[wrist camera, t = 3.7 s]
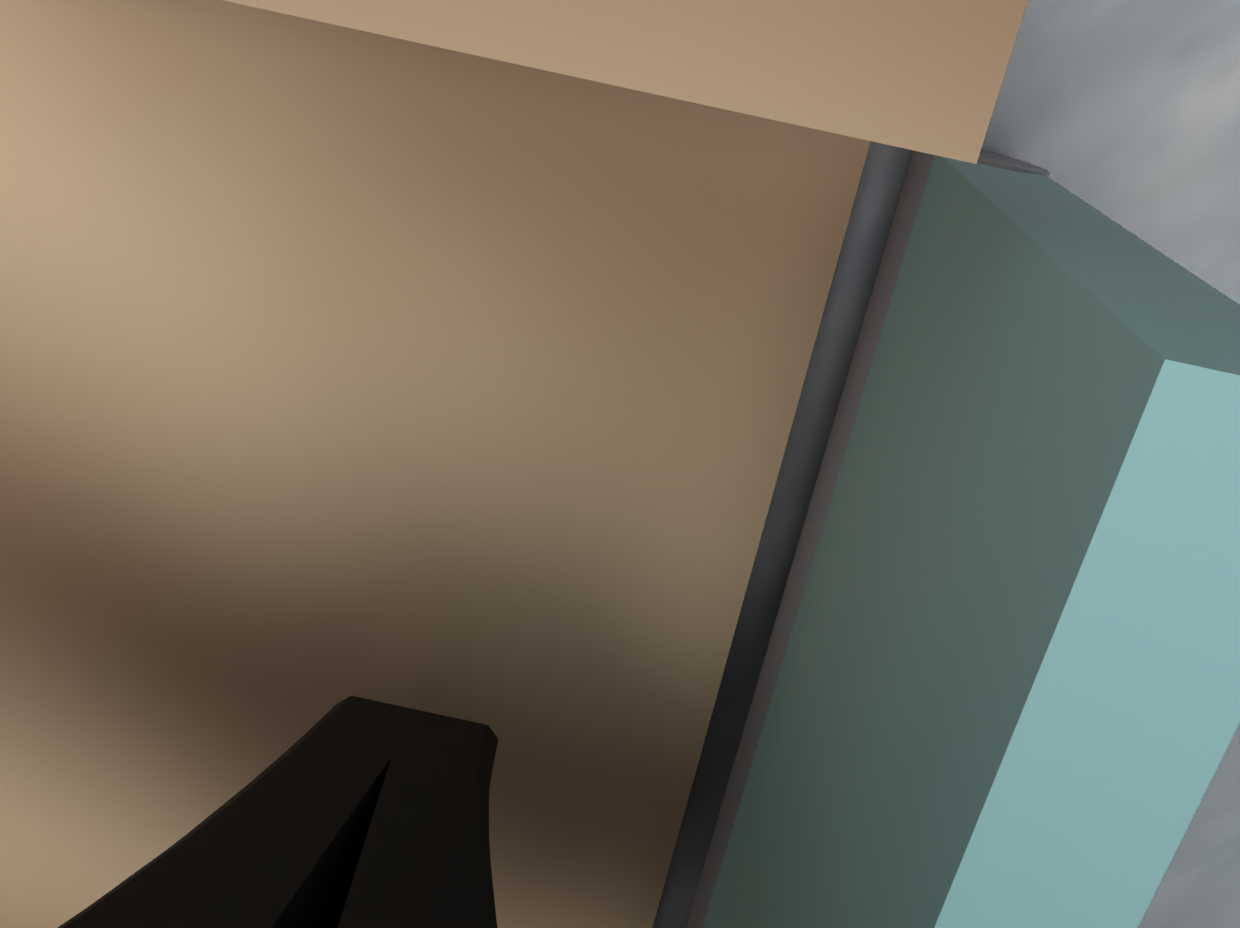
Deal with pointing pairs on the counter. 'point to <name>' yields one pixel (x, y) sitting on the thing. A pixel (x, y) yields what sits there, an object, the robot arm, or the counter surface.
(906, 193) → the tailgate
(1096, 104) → the counter surface
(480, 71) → the flatbed
